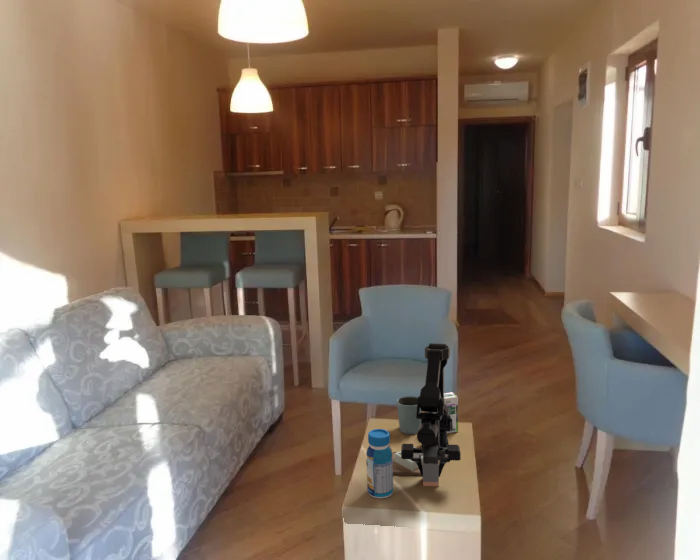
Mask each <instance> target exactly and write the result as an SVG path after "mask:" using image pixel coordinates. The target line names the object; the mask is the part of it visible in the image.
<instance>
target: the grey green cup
mask: <svg viewBox="0 0 700 560" xmlns="http://www.w3.org/2000/svg"><path fill="white" fill-rule="evenodd" d="M417 401H418V396H412V395H406V396H405V395H404V396H401V397H399V398H397V399H396V407H397V416H398V424H399V431H400V432H401V433H402V432H403V433H402V434H405V435H417V433H418V429H419V426H420V424H421V419H416V414H417ZM420 413H423V411H421V408H420V411H419V414H420Z"/></svg>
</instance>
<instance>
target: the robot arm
mask: <svg viewBox="0 0 700 560" xmlns="http://www.w3.org/2000/svg"><path fill="white" fill-rule="evenodd" d="M424 358H425V359H426V360H427V361H426V362H427V365H426V366H427V367H426V376H425V385H424V386H422V388H420V391H419V392H420V393H419V395H418V396H417V397H418V401H417V414H416V419H421V424H420V426H419V429H418V433H416V439H417V441H418V442H419V443H420V445H421V446H420V447H416V448H413V446H414V443H402V444H401V447H400V448H401V449H400V451H401V458H402V459H411V460H412V461H415V462H416V464H417V465H418V468H419V470H420V473H421V475H420V476H421V477H422V478H423V467H422V460H421V454H423V462H424V463H425V464H428V463H431V464H438V463H439V478H440V477H441V474H442V472H443V469H444V467H445V466H446V464H447V463H450V462H451V461H461V456H462V455H461V447H460V446H459V445H458V444H449V439H448V433H447V431H449V432H450V430H453V423H452V419H451V416H450V415H449V409H448V407H447V406H446V405H445V403H444V393H445V367H446V366H447V364H448V360H449V359H450V358H451V347H449V345H448V344H447V343H437V342H436V343H435V342H434V343H431V342H429V344H428V345H426V346H424ZM420 408H421V411H422V413H420V414H419V411H420Z"/></svg>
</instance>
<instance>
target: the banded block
mask: <svg viewBox="0 0 700 560" xmlns="http://www.w3.org/2000/svg"><path fill="white" fill-rule="evenodd" d="M439 479H440V477H439V463H438V464H431V463H428V464H425V463H424V462H423V477H422V486H423V487H439V486H440V484H439V483H440V480H439Z"/></svg>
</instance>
